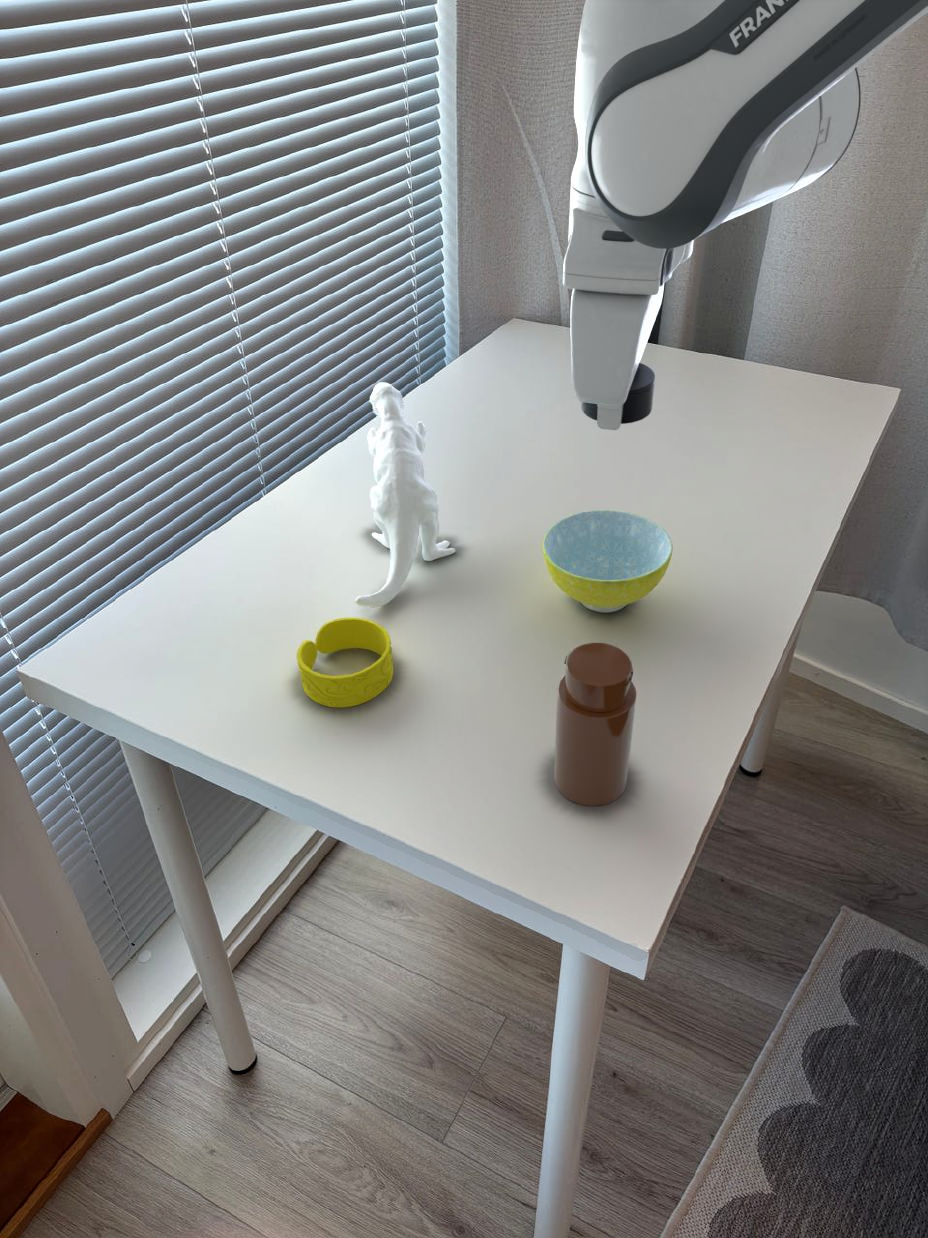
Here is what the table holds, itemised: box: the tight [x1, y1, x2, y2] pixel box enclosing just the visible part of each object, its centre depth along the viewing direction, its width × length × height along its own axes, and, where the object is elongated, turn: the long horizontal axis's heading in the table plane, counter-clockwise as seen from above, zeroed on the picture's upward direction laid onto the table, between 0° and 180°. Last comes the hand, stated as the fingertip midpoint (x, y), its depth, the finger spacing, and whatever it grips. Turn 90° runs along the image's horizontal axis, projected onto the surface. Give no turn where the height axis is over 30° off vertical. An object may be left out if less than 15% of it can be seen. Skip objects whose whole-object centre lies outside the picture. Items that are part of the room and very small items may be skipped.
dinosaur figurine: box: [354, 381, 457, 609], centre depth 89 cm, size 20×10×15 cm, turn 170°
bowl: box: [542, 509, 674, 614], centre depth 86 cm, size 11×12×6 cm
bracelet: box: [296, 617, 394, 708], centre depth 80 cm, size 7×8×3 cm
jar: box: [553, 642, 637, 807], centre depth 67 cm, size 5×5×12 cm
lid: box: [580, 362, 656, 425], centre depth 75 cm, size 6×6×3 cm
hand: (617, 405), depth 76 cm, fingers closed on lid, 5 cm apart
